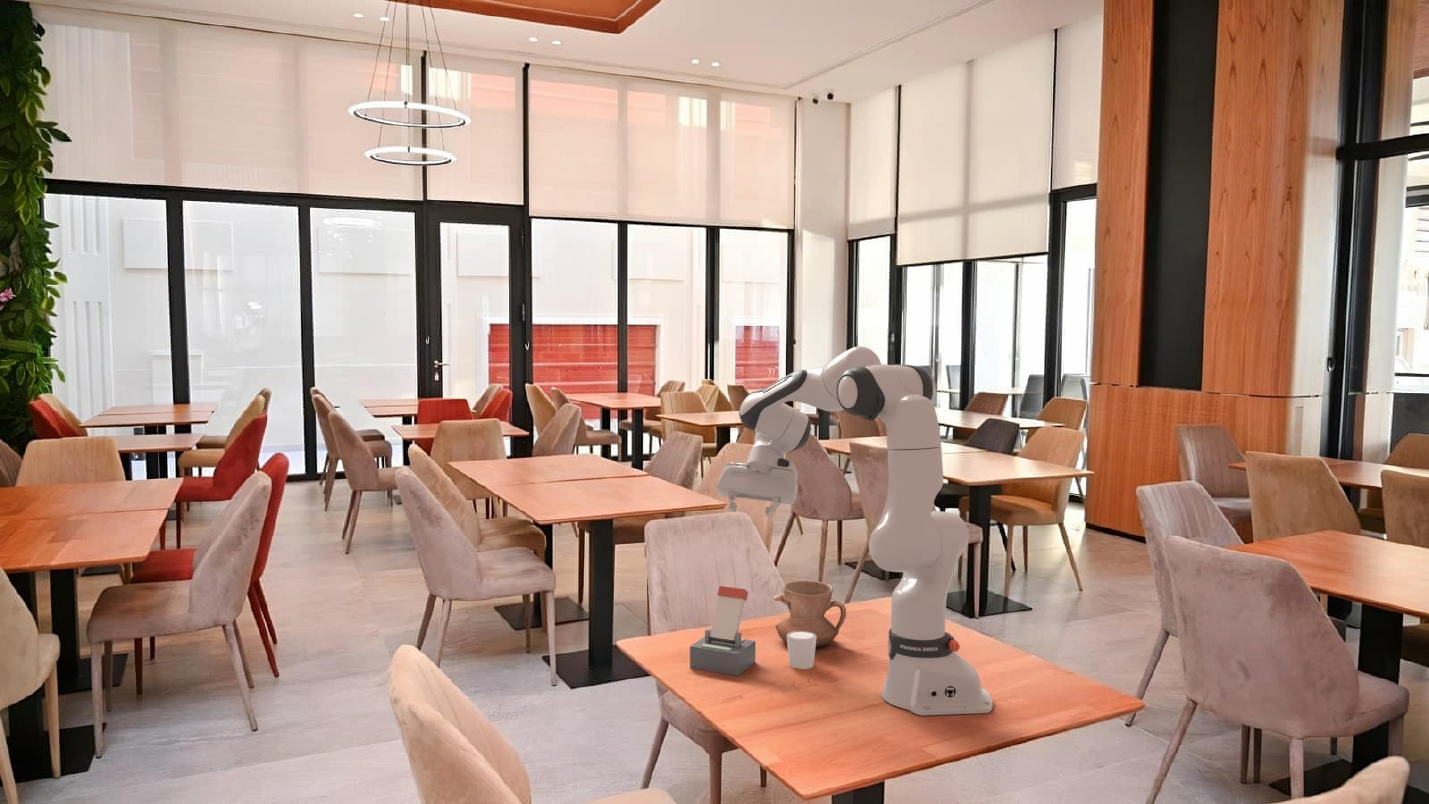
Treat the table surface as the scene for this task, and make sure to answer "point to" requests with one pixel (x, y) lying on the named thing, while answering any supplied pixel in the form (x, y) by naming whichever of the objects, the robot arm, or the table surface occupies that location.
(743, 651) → the switch box
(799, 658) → the shot glass
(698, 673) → the table surface
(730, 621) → the lever
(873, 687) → the table surface
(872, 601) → the table surface
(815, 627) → the ceramic jug
